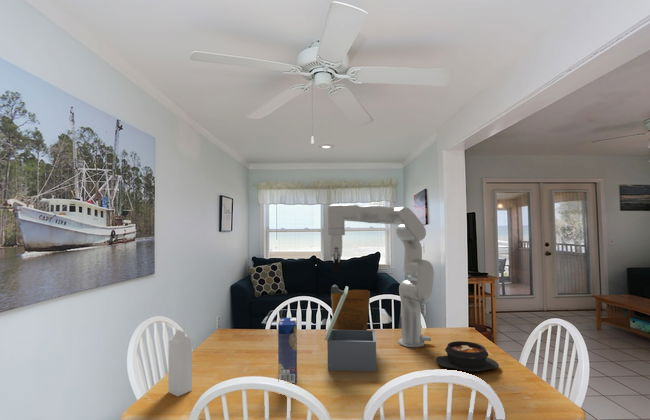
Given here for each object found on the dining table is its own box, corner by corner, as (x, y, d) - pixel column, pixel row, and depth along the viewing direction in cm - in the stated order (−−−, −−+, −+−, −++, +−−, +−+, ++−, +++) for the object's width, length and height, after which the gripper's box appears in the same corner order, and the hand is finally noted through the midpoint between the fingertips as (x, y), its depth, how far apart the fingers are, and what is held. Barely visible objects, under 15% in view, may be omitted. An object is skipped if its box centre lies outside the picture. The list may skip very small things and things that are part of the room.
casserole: (441, 375, 145) (441, 354, 146) (431, 358, 164) (431, 339, 164) (506, 376, 144) (506, 354, 144) (489, 359, 162) (488, 339, 162)
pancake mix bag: (370, 349, 175) (369, 290, 176) (331, 347, 179) (330, 290, 180) (371, 344, 182) (370, 288, 183) (333, 343, 185) (332, 287, 186)
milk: (183, 386, 138) (183, 327, 139) (192, 390, 134) (192, 329, 135) (167, 392, 133) (168, 330, 134) (177, 397, 129) (177, 333, 130)
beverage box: (297, 371, 150) (296, 317, 151) (296, 382, 140) (296, 324, 140) (280, 371, 150) (280, 317, 151) (278, 383, 139) (278, 325, 140)
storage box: (374, 357, 165) (374, 330, 166) (376, 371, 149) (375, 341, 150) (330, 356, 167) (330, 329, 168) (327, 370, 151) (327, 340, 152)
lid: (348, 286, 168) (334, 280, 169) (347, 294, 151) (331, 287, 152) (330, 328, 168) (316, 322, 169) (327, 340, 151) (311, 333, 152)
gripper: (329, 231, 174) (330, 267, 174) (326, 232, 157) (327, 272, 156) (345, 231, 174) (346, 267, 173) (344, 232, 156) (345, 272, 156)
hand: (337, 270), depth 165 cm, fingers open, 9 cm apart
